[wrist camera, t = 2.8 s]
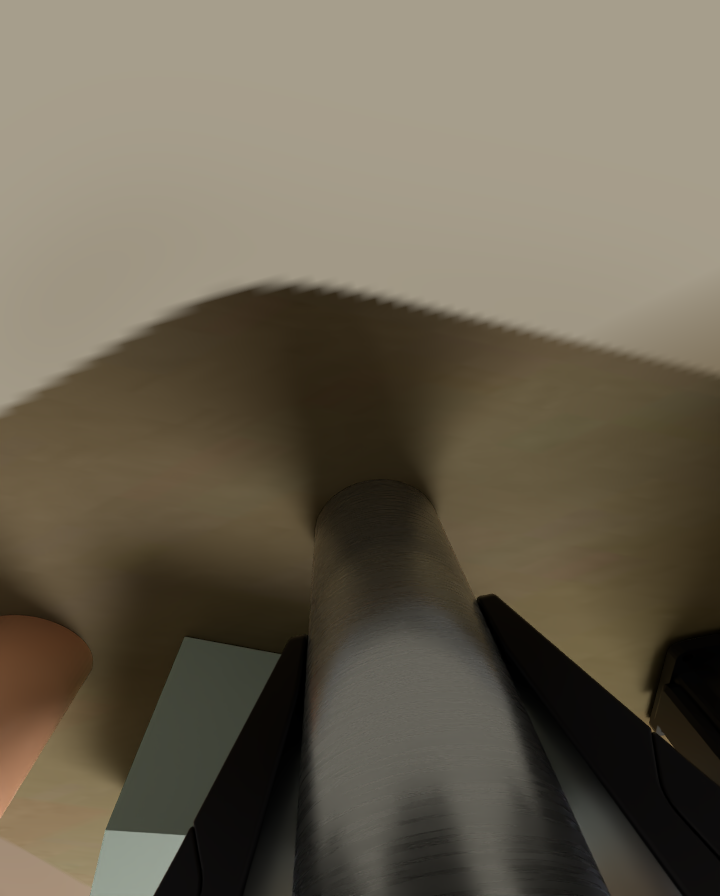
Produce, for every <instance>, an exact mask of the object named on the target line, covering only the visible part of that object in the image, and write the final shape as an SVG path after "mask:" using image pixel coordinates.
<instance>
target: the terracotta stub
mask: <svg viewBox="0 0 720 896" xmlns="http://www.w3.org/2000/svg"><path fill="white" fill-rule="evenodd" d="M92 666H93V657H92V654H91V651H90V649H89V647H88V646H87V644H86V643H85V642H84V641H83V640H82V639H81V638H80V637H79V636H78V635H76V634H75V633H74V632H72V631H71V630H69V629H67V628H65V627H63V626H61V625H59V624H57V623H54V622H52V621H49V620H45V619H42V618H37V617H32V616H24V615H5V616H0V818H1V817H2V815H3V813H4V812H5V810H6V808H7V807H8V805H9V804H10V802H11V800H12V799H13V797H14V795H15V794H16V792H17V791H18V789H19V787H20V786H21V784H22V782H23V781H24V779H25V777H26V776H27V774H28V773H29V771H30V769H31V768H32V766H33V764H34V763H35V761H36V760H37V758H38V756H39V755H40V753H41V751H42V750H43V748H44V746H45V745H46V743H47V742H48V740H49V738H50V737H51V735H52V733H53V732H54V730H55V729H56V727H57V725H58V724H59V722H60V720H61V719H62V717H63V715H64V714H65V712H66V711H67V709H68V707H69V706H70V704H71V702H72V701H73V699H74V698H75V696H76V694H77V693H78V691H79V689H80V688H81V686H82V684H83V683H84V681H85V680H86V678H87V676H88V675H89V673H90V671H91V669H92Z"/></svg>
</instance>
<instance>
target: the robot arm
mask: <svg viewBox="0 0 720 896" xmlns="http://www.w3.org/2000/svg"><path fill="white" fill-rule="evenodd" d="M477 603H478V606H479V608H480V610H481V612H482V614H483V617H484V619H485V621H486V623H487V625H488V628H489V630H490V632H491V634H492V636H493V638H494V641H495V643H496V645H497V647H498V649H499V652H500V654H501V656H502V658H503V660H504V663H505V665H506V667H507V669H508V671H509V674H510V676H511V678H512V680H513V682H514V685H515V687H516V689H517V691H518V693H519V695H520V698H521V700H522V702H523V704H524V706H525V709H526V711H527V713H528V715H529V717H530V720H531V722H532V724H533V726H534V728H535V731H536V733H537V735H538V737H539V739H540V742H541V744H542V746H543V748H544V750H545V752H546V755H547V757H548V759H549V761H550V763H551V766H552V768H553V770H554V772H555V774H556V777H557V779H558V781H559V783H560V785H561V788H562V790H563V792H564V794H565V796H566V799H567V801H568V803H569V805H570V807H571V809H572V812H573V814H574V816H575V818H576V820H577V823H578V825H579V827H580V829H581V831H582V834H583V836H584V838H585V840H586V842H587V845H588V847H589V849H590V851H591V853H592V856H593V858H594V860H595V862H596V864H597V866H598V869H599V871H600V873H601V875H602V877H603V880H604V882H605V884H606V886H607V888H608V891H609V893H610V895H611V896H720V633H718V634H713V635H708V636H703V637H699V638H694V639H689V640H684V641H680V642H677V643H675V644H673V645H672V646H671V647H670V648H669V649H668V651H667V655H666V659H665V663H664V667H663V671H662V675H661V678H660V682H659V686H658V690H657V694H656V698H655V702H654V706H653V710H652V714H651V717H650V721H649V724H650V726H651V727H652V729H653V730H654V731H655V732H652V731H651V728H650V727H649V726H648V725H646V724H645V723H644V722H643V721H642V720H641V719H640V718H638V717H637V716H636V715H635V714H634V713H633V712H631V711H630V710H629V709H628V708H627V707H626V706H624V705H623V704H622V703H621V702H620V701H619V700H617V699H616V698H615V697H614V696H613V695H612V694H610V693H609V692H608V691H607V690H606V689H605V688H603V687H602V686H601V685H600V684H599V683H598V682H596V681H595V680H594V679H593V678H592V677H591V676H589V675H588V674H587V673H586V672H585V671H584V670H582V669H581V668H580V667H579V666H578V665H577V664H576V663H574V662H573V661H572V660H571V659H570V658H569V657H567V656H566V655H565V654H564V653H563V652H562V651H560V650H559V649H558V648H557V647H556V646H555V645H553V644H552V643H551V642H550V641H549V640H548V639H546V638H545V637H544V636H543V635H542V634H541V633H539V632H538V631H537V630H536V629H535V628H534V627H532V626H531V625H530V624H529V623H528V622H527V621H525V620H524V619H523V618H522V617H521V616H520V615H518V614H517V613H516V612H515V611H514V610H513V609H512V608H510V607H509V606H508V605H507V604H506V603H505V602H503V601H502V600H501V599H500V598H499V597H498V596H496V595H494V594H488V595H483V596H479V597H478V598H477ZM307 650H308V635H306V634H303V635H298V636H294V637H291V638H290V639H289V641H288V642H287V644H286V646H285V648H284V650H283V652H282V654H281V656H280V657H279V659H278V661H277V663H276V665H275V667H274V669H273V671H272V673H271V675H270V677H269V678H268V680H267V682H266V684H265V686H264V688H263V690H262V692H261V694H260V696H259V697H258V699H257V701H256V703H255V705H254V707H253V709H252V711H251V713H250V715H249V716H248V718H247V720H246V722H245V724H244V726H243V728H242V730H241V732H240V734H239V736H238V737H237V739H236V741H235V743H234V745H233V747H232V749H231V751H230V753H229V755H228V756H227V758H226V760H225V762H224V764H223V766H222V768H221V770H220V772H219V774H218V775H217V777H216V779H215V781H214V783H213V785H212V787H211V789H210V791H209V793H208V795H207V796H206V798H205V800H204V802H203V804H202V806H201V808H200V810H199V812H198V814H197V815H196V817H195V819H194V821H193V826H194V827H193V826H192V827H190V828H189V830H188V832H187V834H186V836H185V838H184V840H183V842H182V844H181V846H180V847H179V849H178V851H177V853H176V855H175V857H174V859H173V861H172V862H171V864H170V866H169V868H168V870H167V871H166V873H165V875H164V877H163V879H162V881H161V882H160V884H159V886H158V888H157V890H156V892H155V893H154V895H153V896H292V890H293V874H294V858H295V842H296V826H297V810H298V794H299V778H300V762H301V746H302V730H303V714H304V698H305V682H306V666H307ZM660 735H665V736H666V737H667V738H668V740H669V741H670V743H671V744H672V745H673V747H674V748H673V747H672V746H671V745H670V744H669V743H668V742H666V741H665V740H664V739H663V738H662V737H661V736H660Z"/></svg>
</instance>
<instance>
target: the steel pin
mask: <svg viewBox="0 0 720 896" xmlns="http://www.w3.org/2000/svg"><path fill="white" fill-rule="evenodd" d="M292 896H611V895H610V893H609V891H608V888H607V886H606V884H605V882H604V880H603V877H602V875H601V873H600V871H599V869H598V866H597V864H596V862H595V860H594V858H593V856H592V853H591V851H590V849H589V847H588V845H587V842H586V840H585V838H584V836H583V834H582V831H581V829H580V827H579V825H578V823H577V820H576V818H575V816H574V814H573V812H572V809H571V807H570V805H569V803H568V801H567V799H566V796H565V794H564V792H563V790H562V788H561V785H560V783H559V781H558V779H557V777H556V774H555V772H554V770H553V768H552V766H551V763H550V761H549V759H548V757H547V755H546V752H545V750H544V748H543V746H542V744H541V742H540V739H539V737H538V735H537V733H536V731H535V728H534V726H533V724H532V722H531V720H530V717H529V715H528V713H527V711H526V709H525V706H524V704H523V702H522V700H521V698H520V695H519V693H518V691H517V689H516V687H515V685H514V682H513V680H512V678H511V676H510V674H509V671H508V669H507V667H506V665H505V663H504V660H503V658H502V656H501V654H500V652H499V649H498V647H497V645H496V643H495V641H494V638H493V636H492V634H491V632H490V630H489V628H488V625H487V623H486V621H485V619H484V617H483V614H482V612H481V610H480V608H479V606H478V603H477V601H476V599H475V597H474V595H473V592H472V590H471V588H470V586H469V584H468V581H467V579H466V577H465V575H464V573H463V571H462V568H461V566H460V564H459V562H458V560H457V557H456V555H455V553H454V551H453V549H452V546H451V544H450V542H449V540H448V538H447V535H446V533H445V531H444V529H443V527H442V524H441V522H440V520H439V518H438V516H437V514H436V511H435V509H434V507H433V505H432V504H431V502H430V501H429V500H428V499H427V497H426V496H425V495H424V494H422V493H421V492H420V491H419V490H417V489H415V488H414V487H412V486H410V485H407V484H405V483H402V482H398V481H393V480H370V481H364V482H361V483H357V484H354V485H352V486H349V487H347V488H346V489H344V490H342V491H340V492H339V493H338V494H336V495H335V496H334V497H332V498H331V499H330V500H329V501H328V502H327V504H326V505H325V506H324V507H323V509H322V511H321V512H320V514H319V516H318V519H317V522H316V526H315V538H314V554H313V570H312V586H311V602H310V618H309V634H308V650H307V666H306V682H305V698H304V714H303V730H302V746H301V762H300V778H299V794H298V810H297V826H296V842H295V858H294V874H293V890H292Z"/></svg>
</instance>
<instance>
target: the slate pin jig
mask: <svg viewBox="0 0 720 896" xmlns="http://www.w3.org/2000/svg"><path fill="white" fill-rule="evenodd" d="M280 656H281V654H276V653H271V652H266V651H260V650H255V649H249V648H244V647H238V646H233V645H228V644H222V643H217V642H211V641H206V640H200V639H195V638H189V637H184V639H183V642H182V644H181V647H180V649H179V652H178V654H177V657H176V659H175V661H174V664H173V666H172V669H171V671H170V674H169V676H168V679H167V681H166V683H165V686H164V688H163V691H162V693H161V696H160V698H159V700H158V703H157V705H156V708H155V710H154V713H153V715H152V718H151V720H150V722H149V725H148V727H147V730H146V732H145V735H144V737H143V740H142V742H141V744H140V747H139V749H138V752H137V754H136V757H135V759H134V762H133V764H132V766H131V769H130V771H129V774H128V776H127V779H126V781H125V783H124V786H123V788H122V791H121V793H120V796H119V798H118V801H117V803H116V805H115V808H114V810H113V813H112V815H111V818H110V820H109V823H108V825H107V827H106V830H105V834H104V838H103V842H102V847H101V851H100V855H99V859H98V864H97V868H96V872H95V876H94V881H93V885H92V890H91V893H90V896H153V895H154V893H155V892H156V890H157V888H158V886H159V884H160V882H161V881H162V879H163V877H164V875H165V873H166V871H167V870H168V868H169V866H170V864H171V862H172V861H173V859H174V857H175V855H176V853H177V851H178V849H179V847H180V846H181V844H182V842H183V840H184V838H185V836H186V834H187V832H188V830H189V828H190V827H192V826H193V821H194V819H195V817H196V815H197V814H198V812H199V810H200V808H201V806H202V804H203V802H204V800H205V798H206V796H207V795H208V793H209V791H210V789H211V787H212V785H213V783H214V781H215V779H216V777H217V775H218V774H219V772H220V770H221V768H222V766H223V764H224V762H225V760H226V758H227V756H228V755H229V753H230V751H231V749H232V747H233V745H234V743H235V741H236V739H237V737H238V736H239V734H240V732H241V730H242V728H243V726H244V724H245V722H246V720H247V718H248V716H249V715H250V713H251V711H252V709H253V707H254V705H255V703H256V701H257V699H258V697H259V696H260V694H261V692H262V690H263V688H264V686H265V684H266V682H267V680H268V678H269V677H270V675H271V673H272V671H273V669H274V667H275V665H276V663H277V661H278V659H279V657H280ZM193 827H194V826H193Z"/></svg>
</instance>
